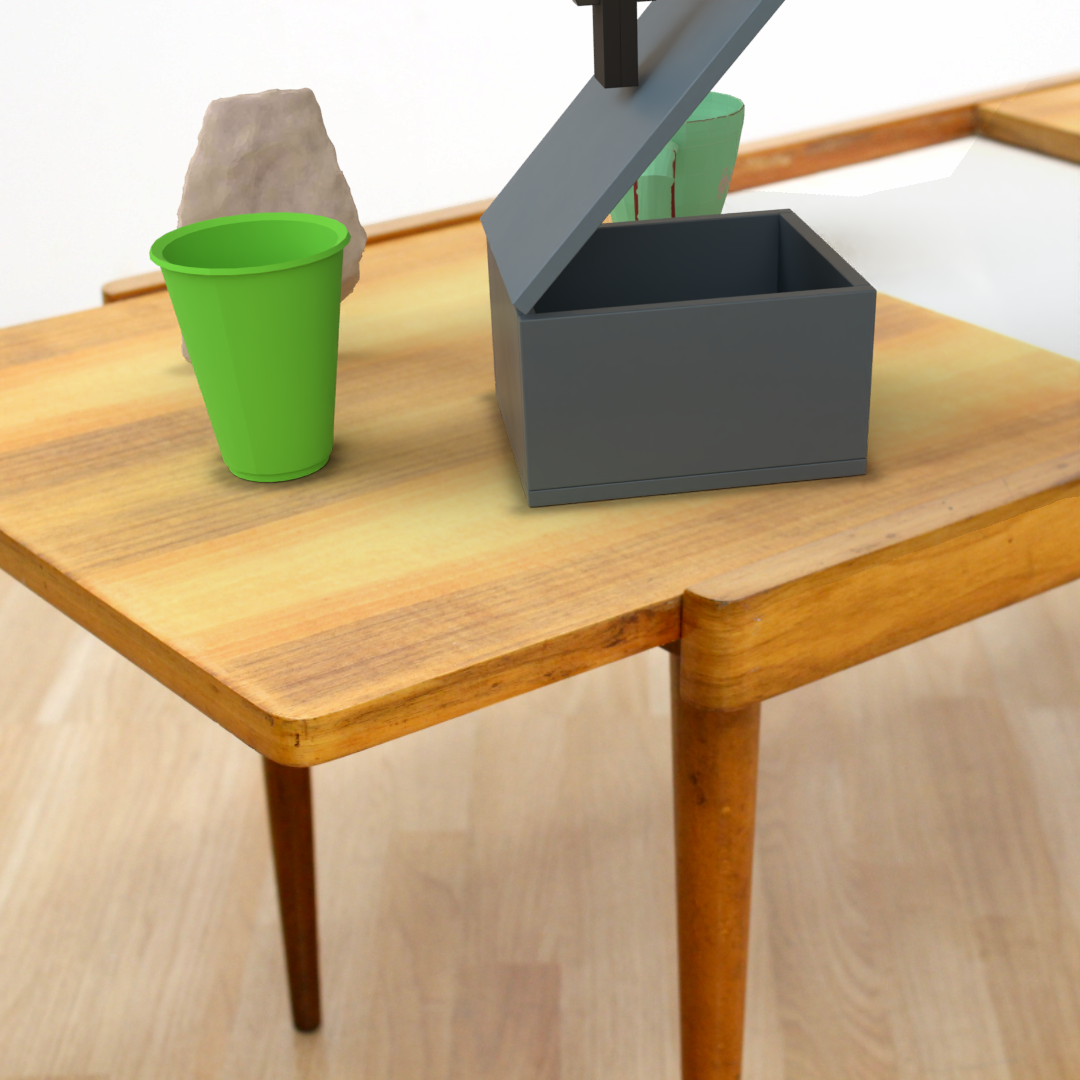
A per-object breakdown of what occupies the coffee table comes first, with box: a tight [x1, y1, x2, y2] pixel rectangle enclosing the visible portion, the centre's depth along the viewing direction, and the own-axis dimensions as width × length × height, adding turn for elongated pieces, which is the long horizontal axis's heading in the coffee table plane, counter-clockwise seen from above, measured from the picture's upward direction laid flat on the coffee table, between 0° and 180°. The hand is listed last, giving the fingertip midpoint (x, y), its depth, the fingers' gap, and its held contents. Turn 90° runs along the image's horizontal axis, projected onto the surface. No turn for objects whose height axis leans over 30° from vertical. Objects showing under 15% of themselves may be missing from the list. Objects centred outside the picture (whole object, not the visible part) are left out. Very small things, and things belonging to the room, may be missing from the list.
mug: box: [609, 90, 746, 223], centre depth 96 cm, size 15×10×10 cm
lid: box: [479, 0, 786, 315], centre depth 69 cm, size 16×14×1 cm
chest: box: [485, 208, 878, 508], centre depth 74 cm, size 16×14×9 cm
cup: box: [148, 212, 351, 483], centre depth 73 cm, size 9×9×11 cm
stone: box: [176, 87, 368, 364], centre depth 84 cm, size 11×3×15 cm, turn 88°
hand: (615, 81), depth 68 cm, fingers closed
